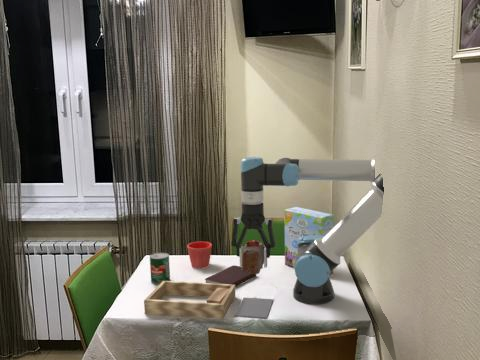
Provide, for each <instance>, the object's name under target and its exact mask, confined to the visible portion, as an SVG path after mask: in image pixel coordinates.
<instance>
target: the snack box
mask: <svg viewBox="0 0 480 360" xmlns="http://www.w3.org/2000/svg"><path fill="white" fill-rule="evenodd" d="M283 212H284V213H283V214H284V216H283V217H284V265H285V266H287V267H291V268H292V269H295V268H294V267H295V262H296V259H297V254H298V245H297V243H298V238H299V237H301V236H325V235H326V234H327V233H328V232H329V231H330V230H331V229H332V228H333V227H334V226H335V214H332V213H327V212H323V211H318V210H314V209H313V210H312V209H309V208H303V207H300V206H299V207H298V206H293V207H291V208H289V207H288V208H286V209H284V210H283ZM333 273H334V270H333V271H332V272H331V273H330V275H331V274H333Z"/></svg>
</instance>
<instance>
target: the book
mask: <svg viewBox="0 0 480 360" xmlns="http://www.w3.org/2000/svg"><path fill="white" fill-rule="evenodd" d="M256 277H257V274H246V273H243V271H242V267H241V266H240V265H239V266H238V265H231V266H229V267H227V268H224V269H222V270H220V271H218V272H216V273H215V274H212V275H210V276H207V277H206V278H204V281H205V283H215V284H233V285H235V288H236V287H238V286H240V285H242V284H244V283H246V282H248V281H250V280H251V279H254V278H256Z"/></svg>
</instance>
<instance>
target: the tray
mask: <svg viewBox="0 0 480 360" xmlns="http://www.w3.org/2000/svg"><path fill="white" fill-rule="evenodd" d="M217 288H227V289H229V290H228V292H227V294H226V295H225V297H224V299H223V300H222V302H221V304H218V303H207V302H201V301H200V302H198V301H183V300H167V299H163V298H164V297H165V296H166V295H169V296H170V295H171V296H185V297H186V296H190V297H203V298H204V297H205V298H209V297H210V296H211V295H212V294H213V292H214V291H215V290H216V289H217ZM235 299H236V287H235V285H233V284H215V283H206V282H197V281H196V282H194V281H193V282H192V281H175V280H170V281H162V282H161V283H160V284H157V286H156V287H155V288H154V290H152V292H150V294H148V296H147V297H146V298H145V299H143V305H144V307H143V308H144V314H145V315H155V316H156V315H157V316H169V317H170V316H173V317H187V318H201V319H216V320H224V319H225V318H226V316H227V313H228V312H229V310H230V308H231V307H232V305H233V303H234V301H235ZM231 304H232V305H231Z"/></svg>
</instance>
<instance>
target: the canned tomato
mask: <svg viewBox="0 0 480 360" xmlns="http://www.w3.org/2000/svg"><path fill="white" fill-rule="evenodd" d="M149 266H150V267H149V268H150V269H149V270H150V283H151V284H152V285H159V284H160V283H161V282H162V281H171V270H170V269H171V268H170V267H171V266H170V254H169V253H167V252H155V253H151V254H150V255H149Z"/></svg>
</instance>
